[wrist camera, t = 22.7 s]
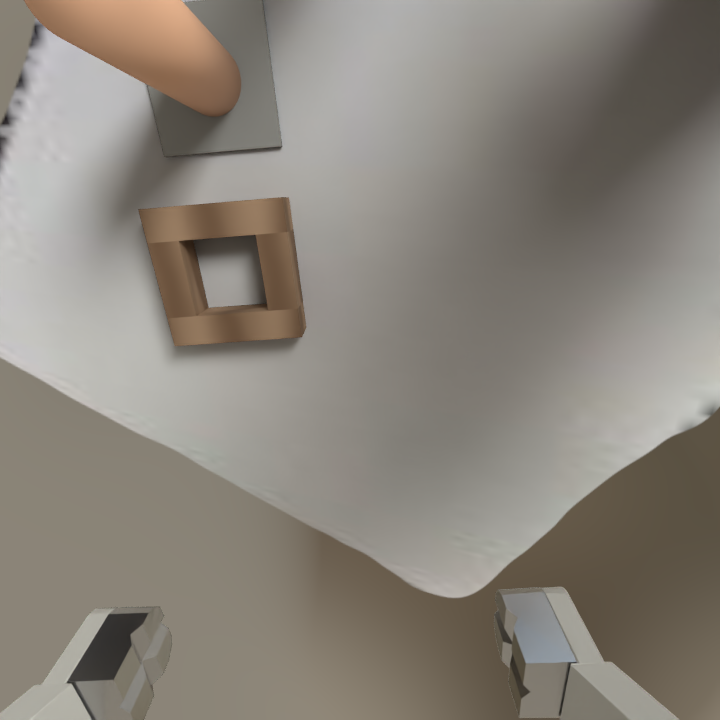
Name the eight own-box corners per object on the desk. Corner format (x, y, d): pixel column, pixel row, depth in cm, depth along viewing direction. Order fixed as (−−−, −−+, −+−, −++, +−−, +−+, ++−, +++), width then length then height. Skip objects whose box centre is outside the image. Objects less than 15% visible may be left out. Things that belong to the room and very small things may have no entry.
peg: (234, 38, 30) (111, -118, 16) (246, 113, 32) (147, 39, 17) (170, 44, 31) (-12, -103, 16) (186, 119, 32) (37, 50, 18)
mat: (262, -4, 30) (260, -6, 29) (282, 146, 33) (281, 146, 33) (132, 10, 30) (129, 7, 30) (166, 156, 34) (164, 156, 33)
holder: (289, 197, 35) (282, 197, 32) (306, 327, 39) (301, 337, 37) (155, 208, 35) (138, 209, 33) (188, 335, 40) (174, 346, 37)
